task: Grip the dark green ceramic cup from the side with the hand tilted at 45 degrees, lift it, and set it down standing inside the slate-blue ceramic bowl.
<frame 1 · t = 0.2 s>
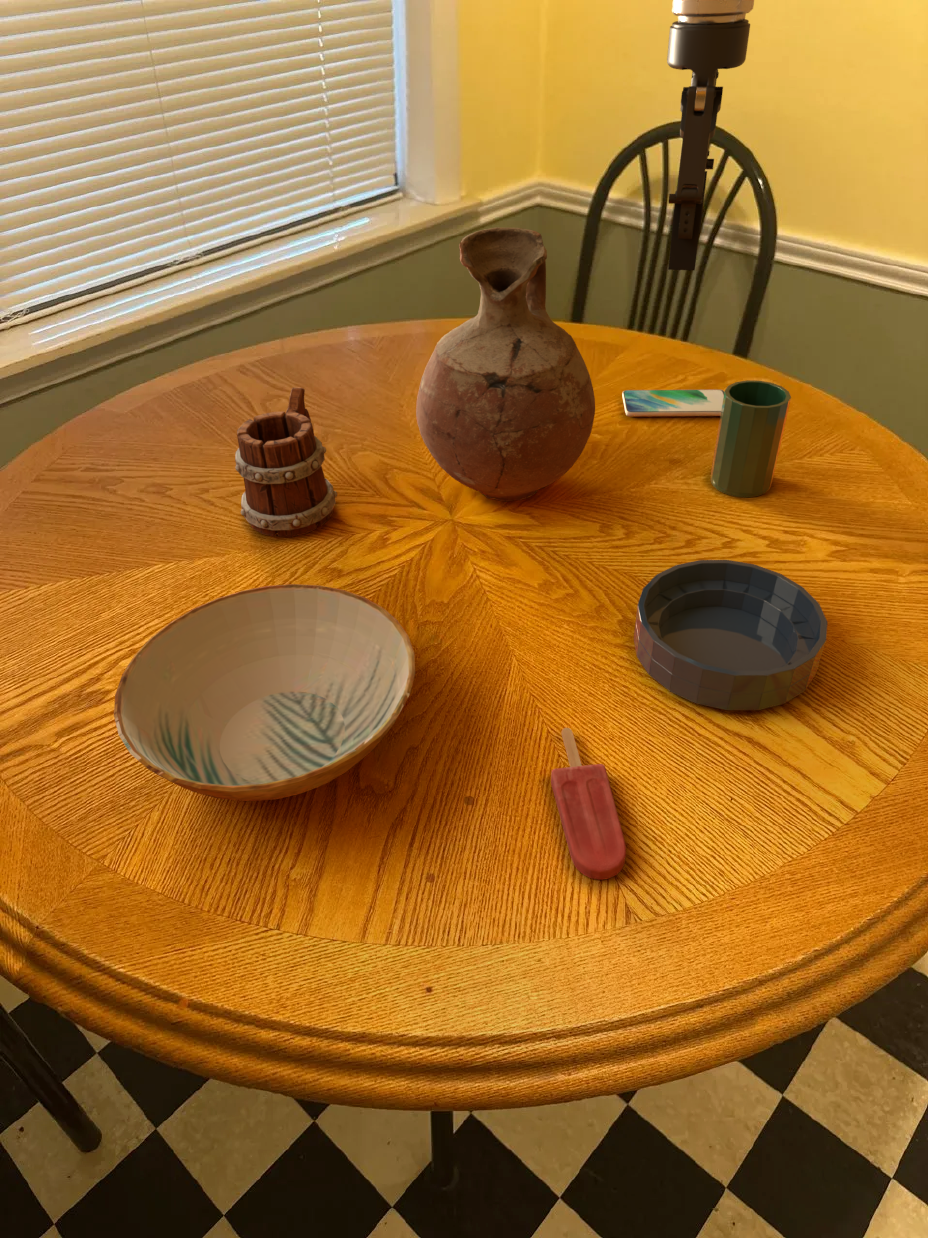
hand: (684, 250, 96), 27 cm above the table, tool pointing down, fingers open, 13 cm apart
mug: (294, 508, 108), on the table
popsicle: (582, 803, 71), on the table
smartphone: (675, 406, 126), on the table
jug: (505, 483, 111), on the table
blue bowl: (722, 652, 85), on the table
bowl: (283, 738, 78), on the table
green cup: (740, 482, 109), on the table
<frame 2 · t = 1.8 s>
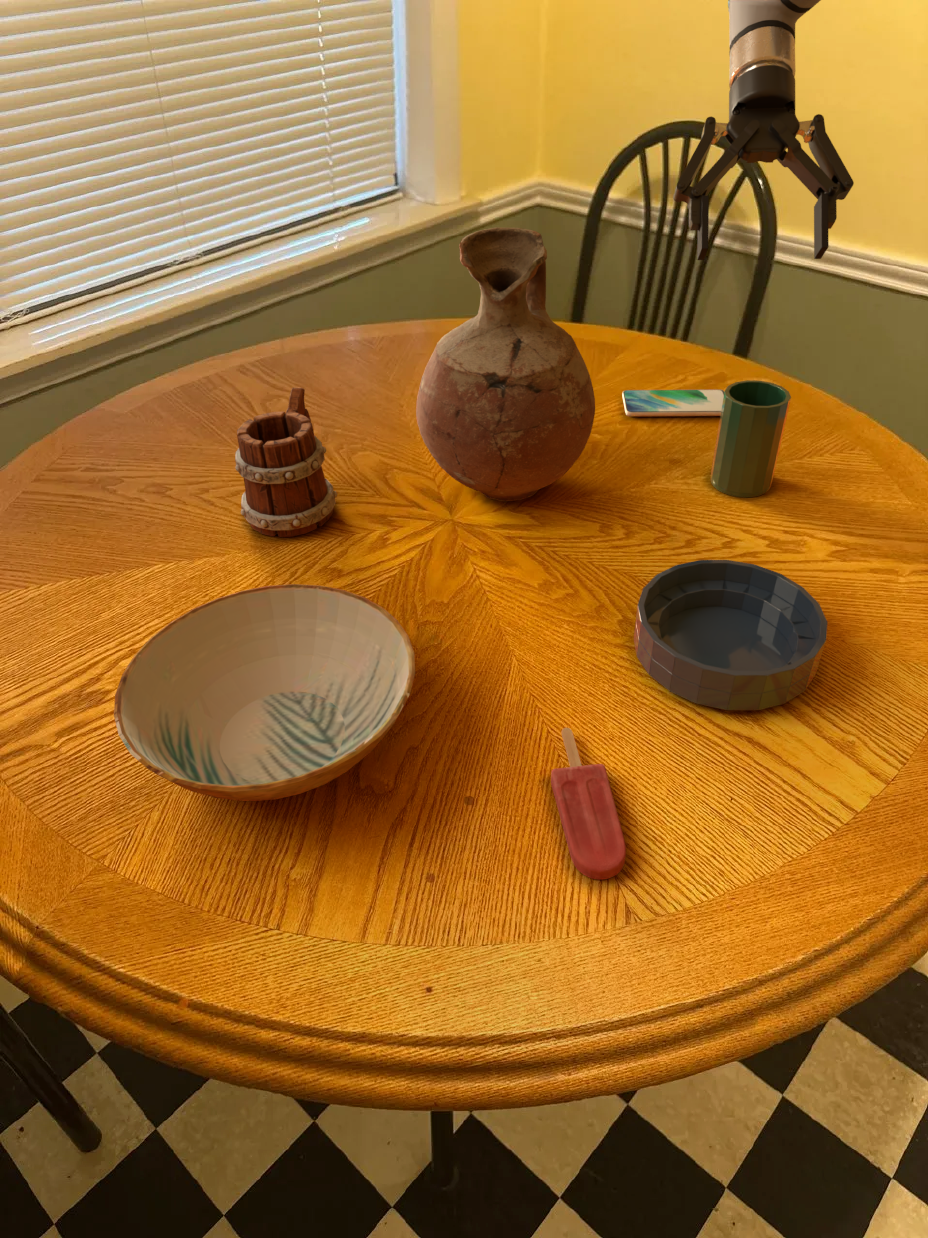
hand: (761, 253, 101), 25 cm above the table, tool tilted 45°, fingers open, 13 cm apart
nothing on the table moved.
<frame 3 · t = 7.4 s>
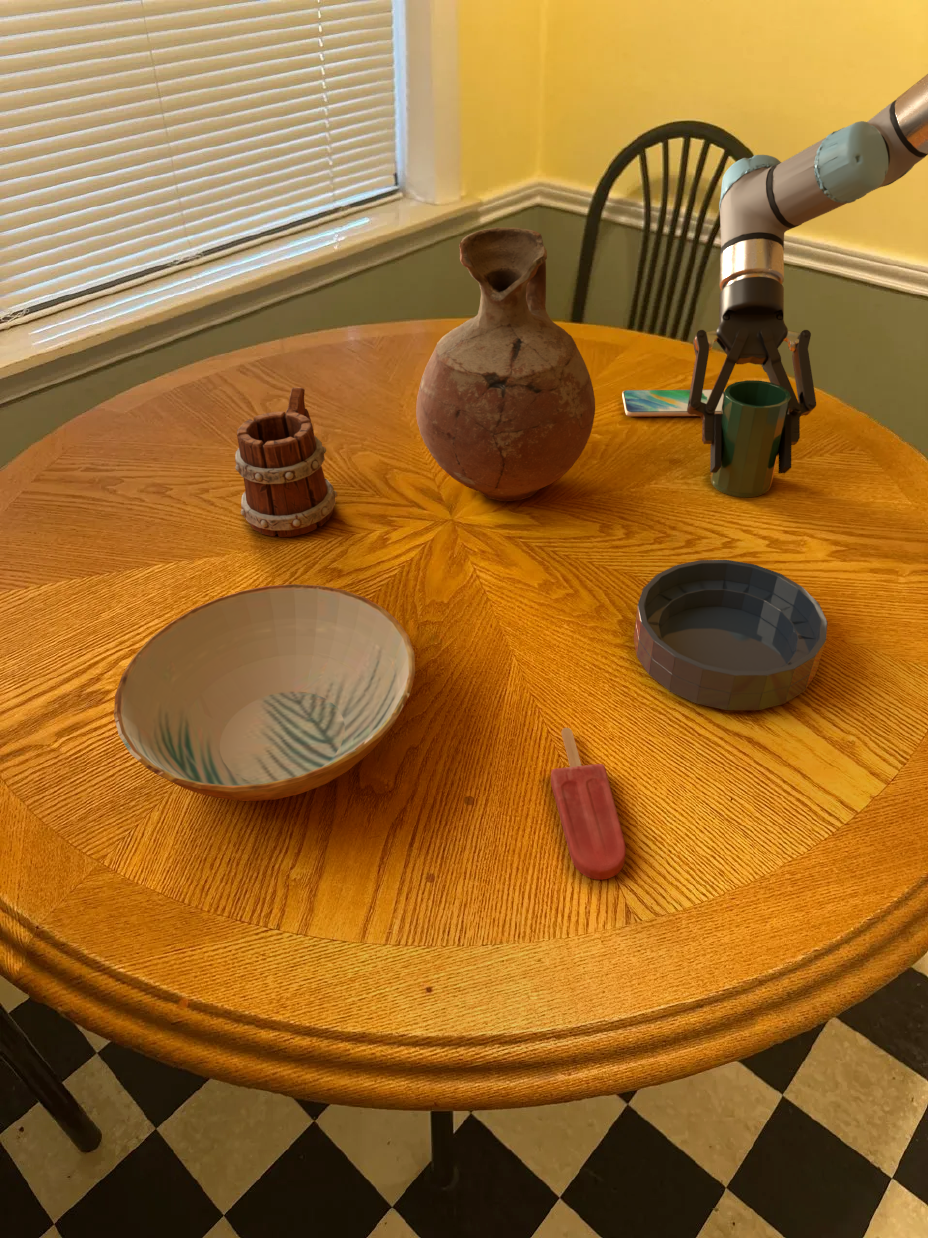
hand: (750, 469, 104), 4 cm above the table, tool tilted 45°, fingers closed on green cup, 7 cm apart
green cup: (740, 482, 109), on the table, touching gripper
everything else where it was.
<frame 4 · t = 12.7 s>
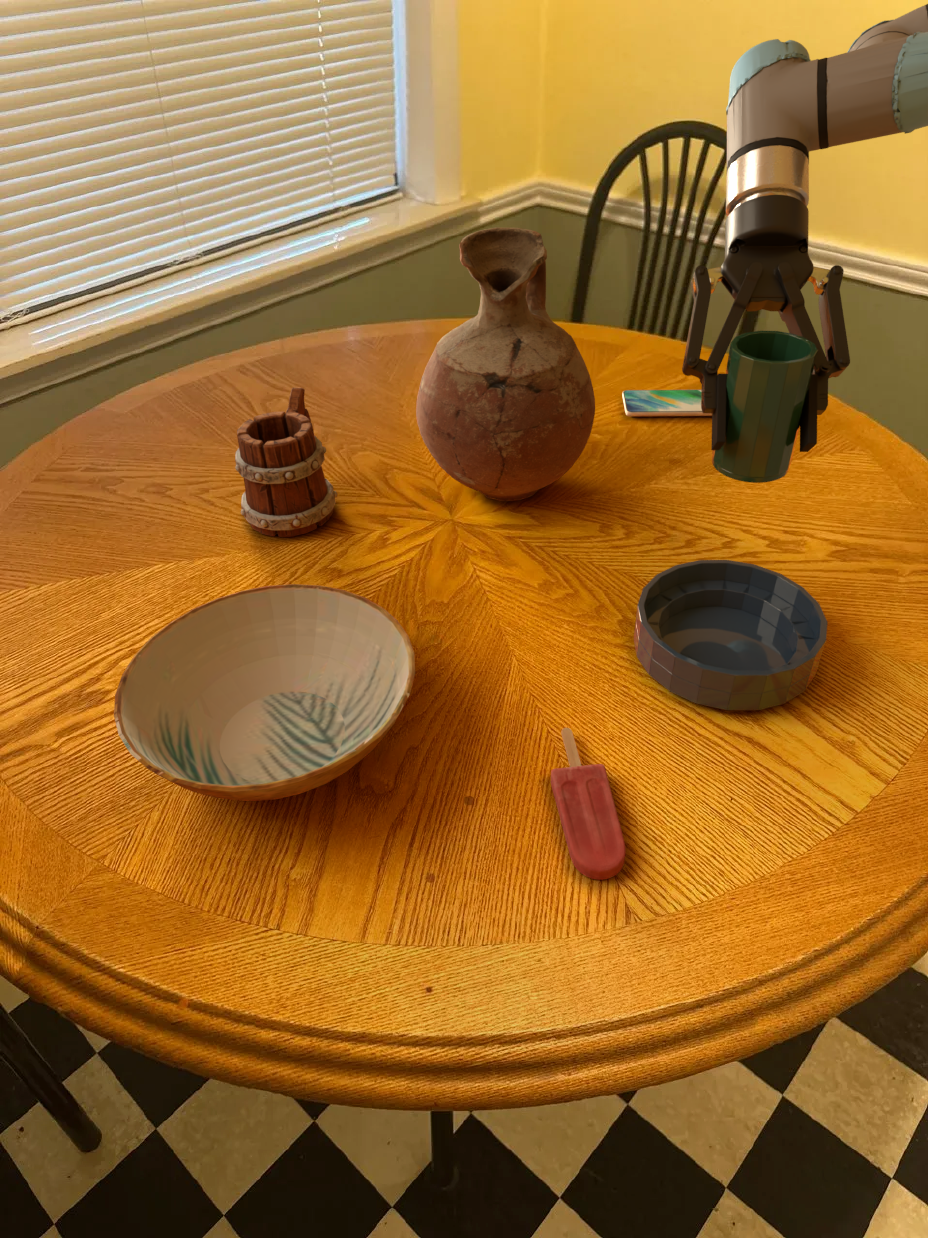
hand: (763, 446, 80), 18 cm above the table, tool tilted 45°, fingers closed on green cup, 7 cm apart
green cup: (750, 463, 85), point 14 cm above the table, touching gripper
everything else where it was.
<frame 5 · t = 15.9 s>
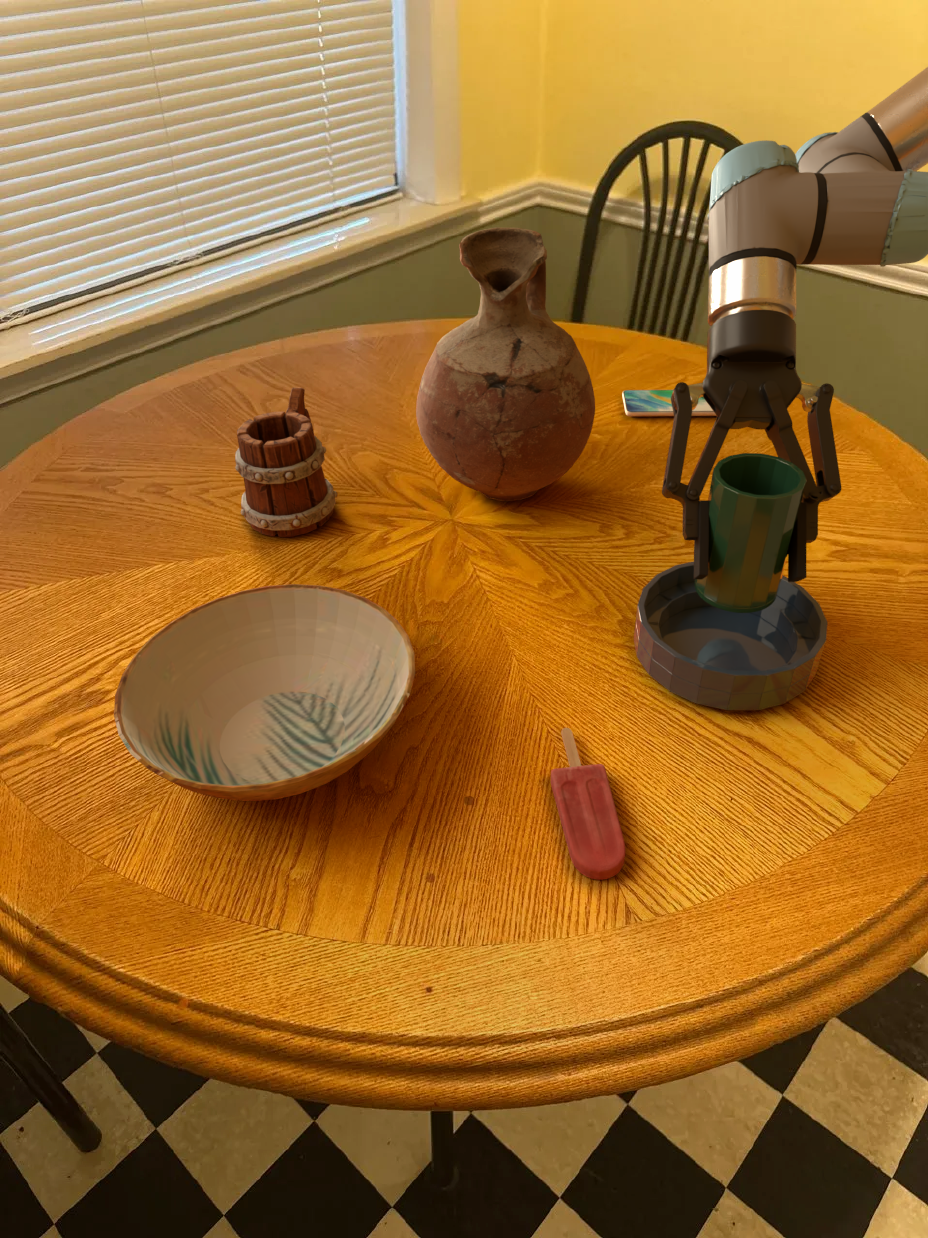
hand: (748, 578, 75), 12 cm above the table, tool tilted 45°, fingers closed on green cup, 7 cm apart
green cup: (735, 588, 80), point 8 cm above the table, touching gripper
everything else where it was.
when the fingers open (4 cm above the table, at t = 18.3 s): green cup stays where it is, resting on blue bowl.
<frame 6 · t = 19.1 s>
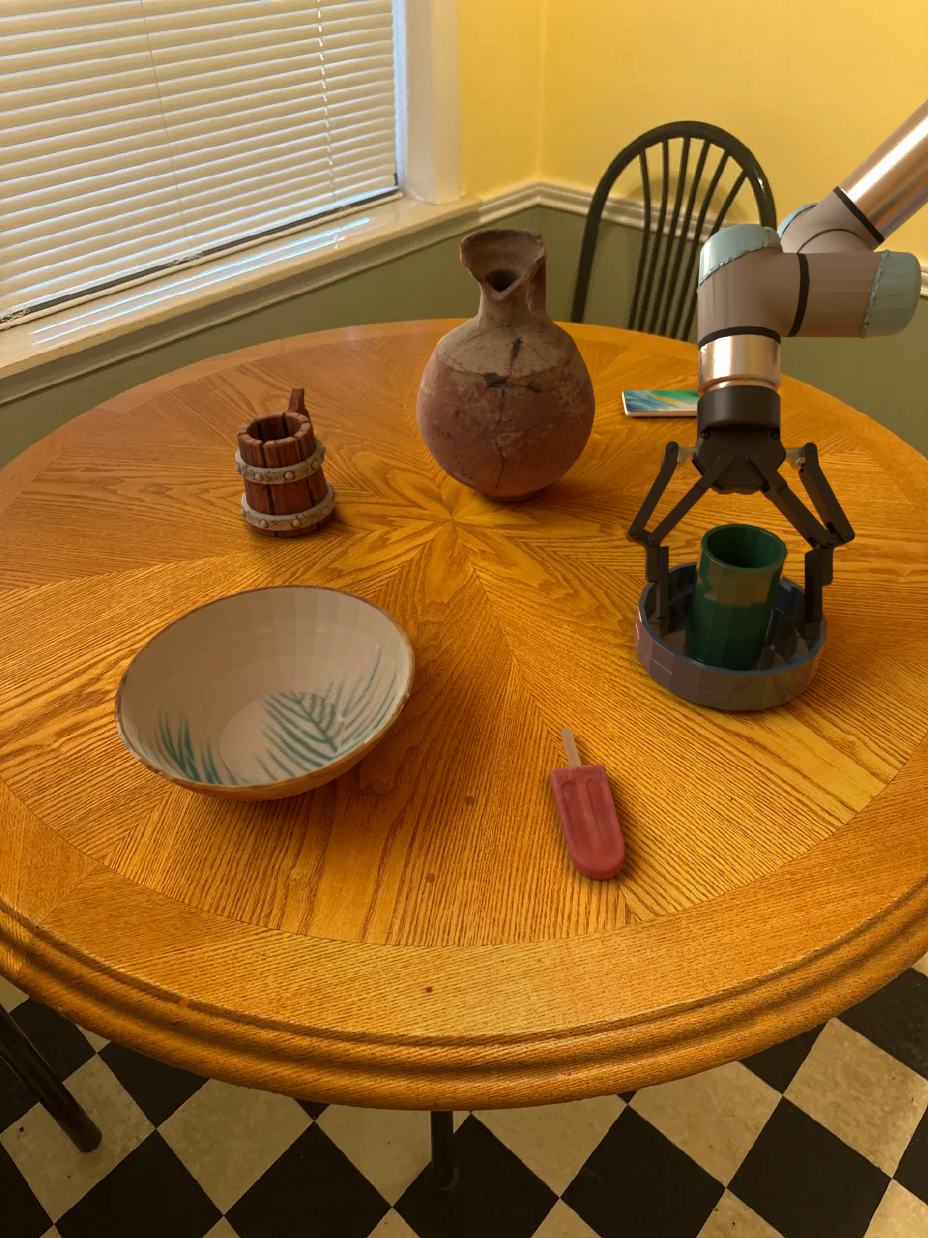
hand: (737, 620, 79), 6 cm above the table, tool tilted 45°, fingers open, 13 cm apart
green cup: (722, 647, 84), point 1 cm above the table, touching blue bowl
everything else where it was.
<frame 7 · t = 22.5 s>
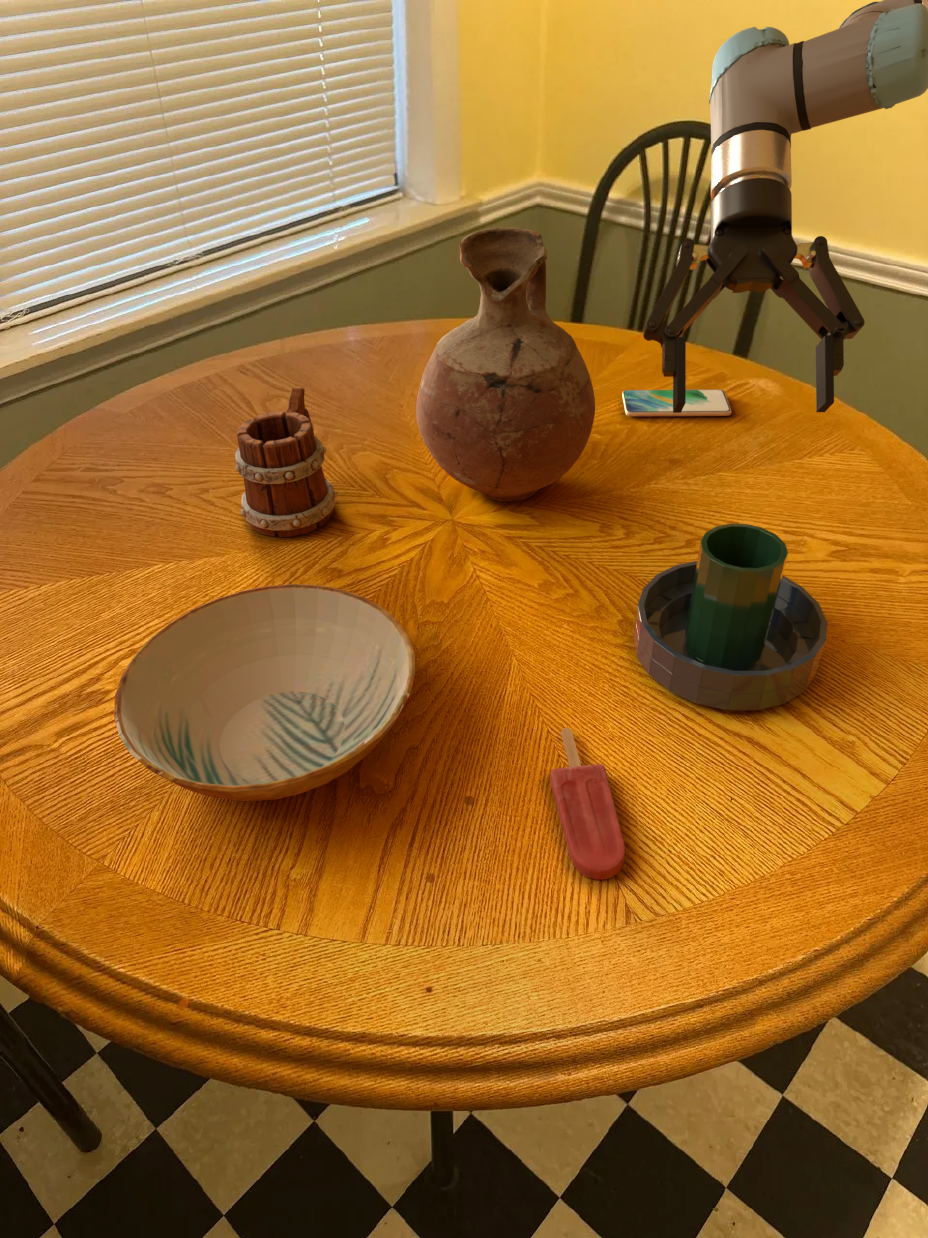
hand: (751, 408, 82), 20 cm above the table, tool tilted 45°, fingers open, 13 cm apart
nothing on the table moved.
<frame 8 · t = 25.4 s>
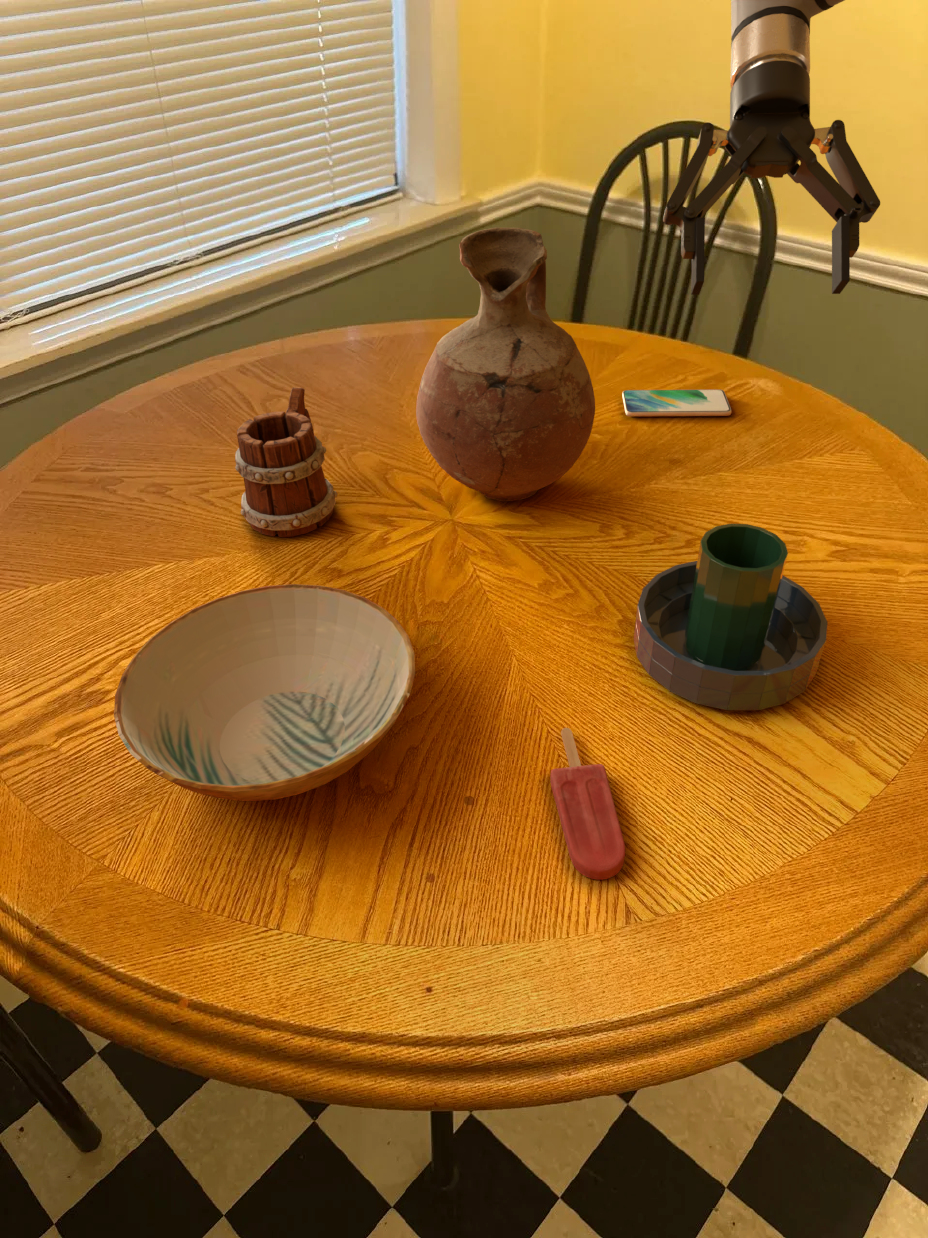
hand: (768, 288, 84), 28 cm above the table, tool tilted 45°, fingers open, 13 cm apart
nothing on the table moved.
at the end: green cup inside the target area in the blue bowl (0.1 cm from its centre), point 0.6 cm above the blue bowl's base; green cup tilted 0°; the gripper is holding nothing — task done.
